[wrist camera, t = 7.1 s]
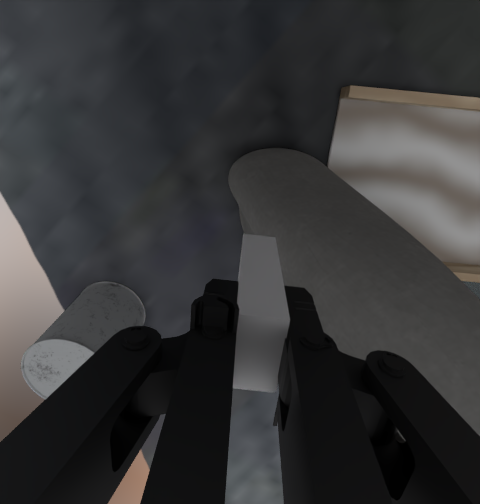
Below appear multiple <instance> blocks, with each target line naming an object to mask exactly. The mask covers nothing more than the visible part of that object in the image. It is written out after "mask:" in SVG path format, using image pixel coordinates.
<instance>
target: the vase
mask: <svg viewBox="0 0 480 504" xmlns="http://www.w3.org/2000/svg"><path fill="white" fill-rule="evenodd" d="M228 183H229V187H230V190H231V192H232V194H233V196H234V198H235V199H236V201H237V203H238V205H239V215H240V221H241V225H242V228H243V231H244V234H250V235H260V236H269V237H275V238H276V243H277V249H278V255H279V260H280V266H281V271H282V277H283V283H284V286H293V287H303V288H305V289H306V290H307V291H308V292H309V293H310V294H311V295H312V297H313V300H314V305H315V307H316V311H317V313H318V316H319V319H320V322H321V325H322V329H323V332H324V333H326V334H327V335H329V336H330V337H331V338H332V339H333V340H334V342H335V343H336V345H337V348H338V350H339V351H341V352H342V353H345V354H347V355H350V356H353V357H356V358H359V359H362V360H366V357H367V355H368V354H369V353H370V352H372V351H377V350H381V351H388V352H392V353H395V354H397V355H399V356H401V357H403V358H405V359H406V360H407V361H409V362H410V363H411V364H412V365H413V366H414V367H415V368H416V369H417V370H418V371H419V372H420V373H421V374H422V375H423V376H424V377H425V378H426V379H427V380H428V382H429V383H430V384H431V385H432V386H433V387H434V388H435V389H436V390H437V391H438V392H439V393H440V394H441V395H442V396H443V398H444V399H445V400H446V401H447V402H448V403H449V404H450V405H451V406H452V407H453V408H454V409H455V410H456V411H457V413H458V414H459V415H460V416H461V417H462V418H463V419H464V420H465V421H466V422H467V423H468V424H469V425H470V426H471V427H472V429H473V430H474V431H475V432H476V433H477V434H478V435H479V436H480V299H479V298H478V297H477V296H476V295H475V294H474V293H473V292H472V291H471V290H470V289H469V288H468V287H467V286H466V285H465V284H464V283H463V282H462V281H461V280H460V279H459V278H458V277H457V276H456V275H455V274H454V273H453V272H452V271H451V270H450V269H449V268H448V267H447V266H446V265H445V264H444V263H443V262H442V261H441V260H440V259H439V258H437V257H436V256H435V255H434V254H433V253H432V252H431V251H429V250H428V249H427V248H426V247H425V246H424V245H423V244H421V243H420V242H419V241H418V240H417V239H416V238H415V237H413V236H412V235H411V234H410V233H409V232H408V231H406V230H405V229H404V228H403V227H401V226H400V225H399V224H398V223H397V222H395V221H394V220H393V219H392V218H390V217H389V216H388V215H387V214H385V213H384V212H383V211H382V210H381V209H379V208H378V207H377V206H376V205H374V204H373V203H372V202H370V201H369V200H368V199H367V198H365V197H364V196H363V195H361V194H360V193H359V192H358V191H356V190H355V189H354V188H353V187H351V186H350V185H349V184H348V183H346V182H345V181H344V180H342V179H341V178H340V177H339V176H337V175H336V174H335V173H334V172H333V171H331V170H330V169H329V168H328V167H326V166H325V165H324V164H323V163H321V162H320V161H319V160H317V159H316V158H314V157H312V156H310V155H308V154H306V153H303V152H300V151H296V150H291V149H285V148H266V149H260V150H256V151H253V152H250V153H247V154H245V155H244V156H242V157H240V158H239V159H238V160H236V162H235V163H234V164H233V165H232V167H231V169H230V171H229V174H228ZM397 432H398V433H399V434H400V436H401V437H402V438H403V436H402V435H401V433H400V432H399V431H397ZM403 439H404V438H403ZM404 440H405V439H404ZM405 441H406V440H405Z"/></svg>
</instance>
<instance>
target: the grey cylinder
mask: <svg viewBox="0 0 480 504" xmlns="http://www.w3.org/2000/svg"><path fill="white" fill-rule="evenodd" d="M145 317H146V315H145V308H144V305H143V303H142V301H141V300H140V298H139V297H138V296H137V295H136V294H135V292H133V291H132V290H131V289H129V288H128V287H126V286H124V285H122V284H119V283H115V282H108V281H103V282H97V283H94V284H91V285H89V286H88V287H87V288H85V289H84V290H83V292H82V293H81V294H80V295H79V296H78V298H77V299H76V300H75V301H74V302H73V303H72V304H71V305H70V306H69V307H68V308H67V309H66V310H65V311H64V312H63V313H62V314H61V316H60V317H59V318H58V319H57V320H56V321H55V322H54V323H53V324H52V325H51V326H50V327H49V328H48V329H47V330H46V331H45V333H44V334H43V335H42V336H41V337H40V338H39V339H38V340H37V341H36V342H35V343H34V344H33V345H32V346H30V347H29V348H28V349H27V351H26V352H25V353H24V355H23V358H22V361H21V370H22V374H23V377H24V379H25V381H26V383H27V384H28V385H29V387H30V388H31V389H32V390H33V391H34V392H35V393H36V394H38V395H39V396H40V397H42V398H43V399H45V400H46V399H47V398H48V397H49V396H50V395H51V394H52V393H53V392H54V391H55V390H56V389H57V388H58V387H59V386H60V385H61V384H62V383H63V382H65V381H66V380H67V379H68V378H69V377H70V376H71V375H72V374H73V373H74V372H75V371H76V370H77V369H78V368H79V367H80V366H81V365H82V364H84V363H85V362H86V361H87V360H88V359H89V358H90V357H91V356H92V355H93V354H94V353H95V352H96V351H97V350H98V349H99V348H100V347H102V346H103V345H104V344H105V343H106V342H107V341H108V340H109V339H110V338H111V337H112V336H113V335H114V334H116V333H117V332H119V331H120V330H122V329H125V328H128V327H132V326H143V325H144V322H145Z"/></svg>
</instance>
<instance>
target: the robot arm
mask: <svg viewBox="0 0 480 504" xmlns="http://www.w3.org/2000/svg"><path fill="white" fill-rule="evenodd" d="M278 384H279V397H278V402H277V407H276V412H275V417H274V422H273V426H277V422H278V431H279V444H280V457H281V470H282V483H283V496H284V504H480V436H479V435H478V434H477V433H476V432H475V431H474V430H473V429H472V427H471V426H470V425H469V424H468V423H467V422H466V421H465V420H464V419H463V418H462V417H461V416H460V415H459V414H458V413H457V411H456V410H455V409H454V408H453V407H452V406H451V405H450V404H449V403H448V402H447V401H446V400H445V399H444V398H443V396H442V395H441V394H440V393H439V392H438V391H437V390H436V389H435V388H434V387H433V386H432V385H431V384H430V383H429V382H428V380H427V379H426V378H425V377H424V376H423V375H422V374H421V373H420V372H419V371H418V370H417V369H416V368H415V367H414V366H413V365H412V364H411V363H410V362H409V361H407V360H406V359H405V358H403V357H401V356H399V355H397V354H395V353H392V352H388V351H381V350H377V351H372V352H370V353H369V354H368V355H367V357H366V360H362V359H359V358H356V357H353V356H350V355H347V354H345V353H342V352H341V351H339V350H338V348H337V345H336V343H335V342H334V340H333V339H332V338H331V337H330V336H329V335H327V334H326V333H324V332H323V329H322V325H321V322H320V319H319V316H318V313H317V311H316V307H315V305H314V300H313V297H312V295H311V294H310V293H309V292H308V291H307V290H306V289H305V288H303V287H293V286H284V283H283V277H282V271H281V266H280V260H279V255H278V249H277V243H276V238H275V237H269V236H260V235H250V234H243V240H242V249H241V258H240V267H239V276H238V281H229V280H220V279H212V280H211V281H210V282H209V283H207V284H206V287H205V290H204V294H203V296H201V297H199V298H197V299H195V300H194V302H193V303H192V305H191V324H190V331H189V332H187V333H185V334H183V335H181V336H177V337H172V338H163V339H161V335H160V334H159V333H158V332H157V330H155V329H153V328H150V327H146V326H132V327H128V328H125V329H122V330H120V331H119V332H117V333H116V334H114V335H113V336H112V337H111V338H110V339H109V340H108V341H107V342H106V343H105V344H104V345H103V346H102V347H100V348H99V349H98V350H97V351H96V352H95V353H94V354H93V355H92V356H91V357H90V358H89V359H88V360H87V361H86V362H85V363H84V364H82V365H81V366H80V367H79V368H78V369H77V370H76V371H75V372H74V373H73V374H72V375H71V376H70V377H69V378H68V379H67V380H66V381H65V382H63V383H62V384H61V385H60V386H59V387H58V388H57V389H56V390H55V391H54V392H53V393H52V394H51V395H50V396H49V397H48V398H47V399H46V400H44V402H43V403H41V404H40V405H39V406H38V407H37V408H36V409H35V410H34V411H33V412H32V413H31V414H30V415H29V416H28V417H27V418H26V419H24V420H23V421H22V422H21V423H20V424H19V425H18V426H17V427H16V428H15V429H14V430H13V431H12V432H11V433H10V434H9V435H8V436H7V437H5V438H4V439H3V440H2V441H1V442H0V504H107V503H108V502H109V500H110V499H111V497H112V495H113V494H114V492H115V491H116V489H117V487H118V486H119V484H120V482H121V481H122V479H123V477H124V476H125V474H126V472H127V471H128V469H129V467H130V466H131V464H132V462H133V461H134V459H135V457H136V456H137V454H138V453H139V450H140V449H141V448H142V446H143V444H144V443H145V441H146V439H147V438H148V436H149V434H150V433H151V431H152V429H153V428H154V426H155V424H156V423H157V421H158V419H159V416H160V415H161V414H166V416H165V419H164V423H163V426H162V430H161V433H160V437H159V440H158V444H157V447H156V451H155V454H154V458H153V461H152V465H151V468H150V472H149V475H148V479H147V482H146V486H145V490H144V493H143V496H142V500H141V503H140V504H225V489H226V475H227V461H228V447H229V433H230V419H231V405H232V391H233V388H236V389H245V390H254V391H264V392H273V393H276V390H277V385H278ZM397 431H399V432H400V433H401V435H402V436H403V438H404V439H405V440H406V441H405V440H404V439H403V438H402V437H401V436H400V434H399V433H398V432H397Z"/></svg>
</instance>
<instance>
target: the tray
mask: <svg viewBox="0 0 480 504" xmlns="http://www.w3.org/2000/svg"><path fill="white" fill-rule="evenodd" d="M327 167H328V168H329V169H330V170H331V171H333V172H334V173H335V174H336V175H337V176H339V177H340V178H341V179H342V180H344V181H345V182H346V183H348V184H349V185H350V186H351V187H353V188H354V189H355V190H356V191H358V192H359V193H360V194H361V195H363V196H364V197H365V198H367V199H368V200H369V201H370V202H372V203H373V204H374V205H376V206H377V207H378V208H379V209H381V210H382V211H383V212H384V213H385V214H387V215H388V216H389V217H390V218H392V219H393V220H394V221H395V222H397V223H398V224H399V225H400V226H401V227H403V228H404V229H405V230H406V231H408V232H409V233H410V234H411V235H412V236H413V237H415V238H416V239H417V240H418V241H419V242H420V243H421V244H423V245H424V246H425V247H426V248H427V249H428V250H429V251H431V252H432V253H433V254H434V255H435V256H436V257H437V258H439V259H440V260H441V261H442V262H443V263H444V264H445V265H446V266H447V267H448V268H449V269H450V270H451V271H452V272H453V273H454V274H455V275H456V276H457V277H458V278H459V279H460V280H461V281H469V282H480V98H476V97H465V96H455V95H445V94H434V93H424V92H414V91H403V90H393V89H383V88H372V87H362V86H352V85H350V86H347V87H343V88H341V93H340V98H339V104H338V109H337V114H336V120H335V125H334V130H333V135H332V141H331V146H330V151H329V156H328V162H327Z"/></svg>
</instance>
